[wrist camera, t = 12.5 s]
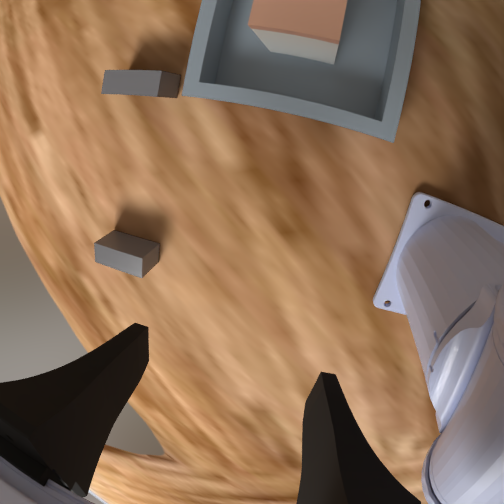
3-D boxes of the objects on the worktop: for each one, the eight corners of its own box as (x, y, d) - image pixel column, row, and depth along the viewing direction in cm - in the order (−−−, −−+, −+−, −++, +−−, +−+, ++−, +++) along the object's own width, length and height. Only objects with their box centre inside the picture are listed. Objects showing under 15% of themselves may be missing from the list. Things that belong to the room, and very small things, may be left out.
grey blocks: (180, 75, 17) (161, 70, 14) (158, 261, 22) (142, 278, 20) (127, 72, 17) (105, 70, 15) (114, 247, 23) (95, 261, 20)
